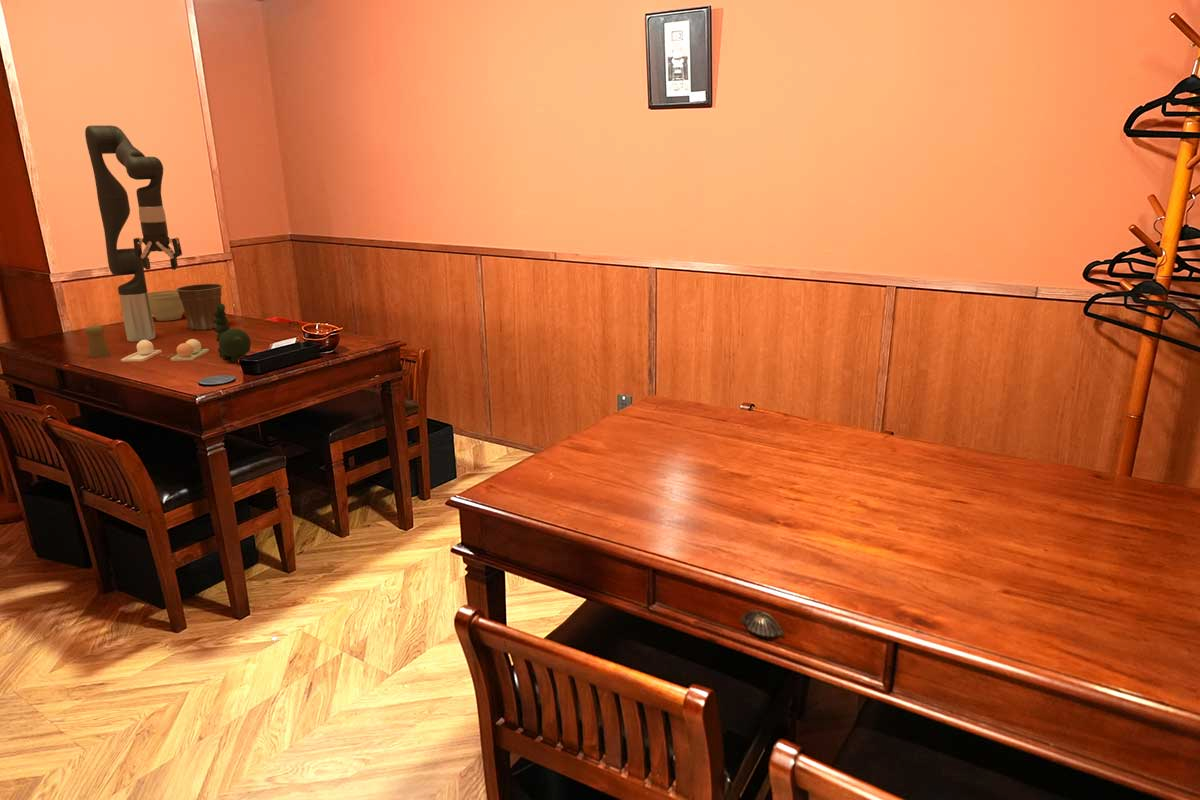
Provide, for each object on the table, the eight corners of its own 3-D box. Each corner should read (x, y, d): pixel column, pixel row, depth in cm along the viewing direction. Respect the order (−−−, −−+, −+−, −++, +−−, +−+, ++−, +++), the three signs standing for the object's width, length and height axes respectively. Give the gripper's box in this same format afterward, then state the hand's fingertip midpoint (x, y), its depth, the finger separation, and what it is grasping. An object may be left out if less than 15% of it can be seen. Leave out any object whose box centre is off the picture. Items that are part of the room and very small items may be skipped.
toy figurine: (211, 359, 276) (228, 367, 256) (201, 304, 272) (218, 308, 252) (240, 355, 281) (259, 362, 261) (231, 301, 277) (250, 304, 257)
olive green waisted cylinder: (114, 355, 276) (108, 323, 273) (102, 359, 270) (95, 327, 267) (97, 355, 277) (91, 323, 273) (85, 359, 271) (78, 327, 268)
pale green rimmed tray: (188, 352, 279) (187, 349, 278) (209, 352, 279) (208, 348, 279) (170, 362, 266) (170, 358, 266) (192, 361, 266) (191, 358, 266)
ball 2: (181, 356, 272) (179, 341, 270) (197, 355, 272) (194, 341, 270) (175, 359, 267) (172, 345, 266) (190, 359, 267) (187, 344, 266)
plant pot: (185, 333, 309) (178, 291, 304) (180, 326, 322) (173, 286, 317) (231, 328, 318) (225, 287, 313) (224, 321, 331) (218, 282, 326)
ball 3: (189, 351, 278) (187, 337, 276) (204, 351, 278) (202, 337, 276) (183, 355, 273) (180, 340, 271) (198, 355, 273) (196, 340, 272)
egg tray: (141, 353, 278) (140, 350, 278) (161, 353, 278) (161, 349, 278) (121, 363, 266) (120, 359, 265) (143, 362, 266) (142, 359, 266)
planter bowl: (138, 322, 331) (133, 296, 328) (164, 315, 346) (160, 289, 343) (173, 323, 328) (169, 296, 325) (198, 315, 343) (194, 290, 340)
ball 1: (142, 352, 277) (139, 338, 276) (157, 352, 277) (154, 338, 276) (135, 356, 272) (132, 341, 271) (150, 356, 272) (147, 341, 271)
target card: (163, 355, 276) (162, 352, 276) (180, 355, 276) (180, 351, 276) (151, 361, 268) (150, 357, 268) (169, 361, 269) (169, 357, 268)
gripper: (180, 219, 269) (187, 267, 274) (136, 218, 268) (144, 267, 274) (170, 221, 262) (177, 271, 267) (125, 221, 261) (133, 271, 266)
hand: (161, 269), depth 270 cm, fingers open, 8 cm apart
